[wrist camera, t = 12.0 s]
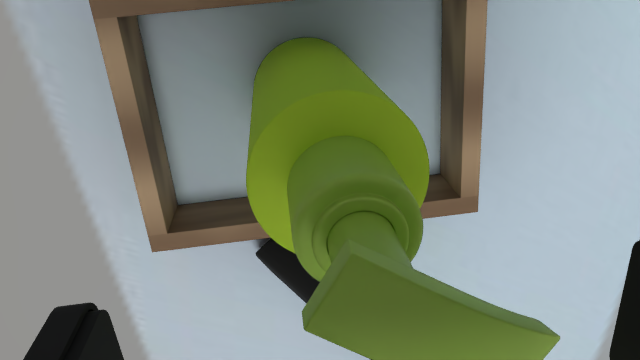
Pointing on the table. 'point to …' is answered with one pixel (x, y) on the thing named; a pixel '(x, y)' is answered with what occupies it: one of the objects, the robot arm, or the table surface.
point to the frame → (236, 214)
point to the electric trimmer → (288, 269)
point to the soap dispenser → (362, 215)
